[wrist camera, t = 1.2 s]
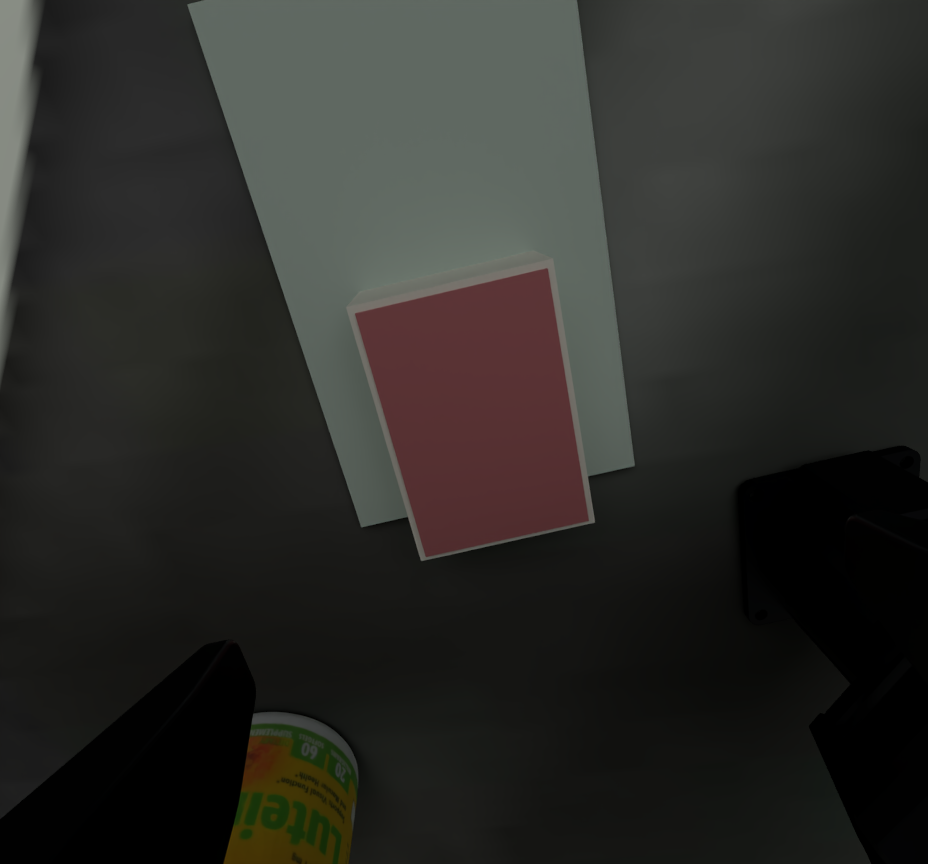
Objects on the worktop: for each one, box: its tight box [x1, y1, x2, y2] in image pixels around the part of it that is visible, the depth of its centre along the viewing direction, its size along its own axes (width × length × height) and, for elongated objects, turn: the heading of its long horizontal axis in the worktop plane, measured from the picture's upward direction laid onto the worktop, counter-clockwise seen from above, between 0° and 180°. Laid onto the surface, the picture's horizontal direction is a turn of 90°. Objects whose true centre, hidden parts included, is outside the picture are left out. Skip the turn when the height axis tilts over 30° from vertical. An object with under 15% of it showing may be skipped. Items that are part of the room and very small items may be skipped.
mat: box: [188, 0, 635, 527], centre depth 18 cm, size 16×10×1 cm, turn 13°
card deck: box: [346, 251, 595, 561], centre depth 18 cm, size 8×6×3 cm
